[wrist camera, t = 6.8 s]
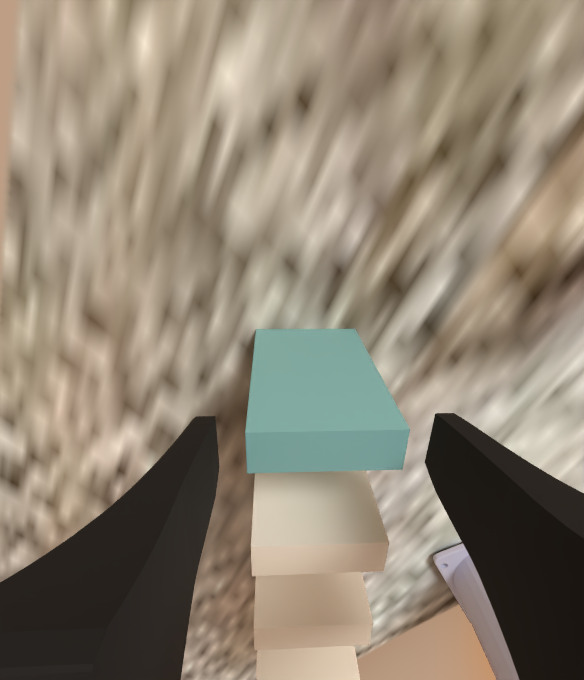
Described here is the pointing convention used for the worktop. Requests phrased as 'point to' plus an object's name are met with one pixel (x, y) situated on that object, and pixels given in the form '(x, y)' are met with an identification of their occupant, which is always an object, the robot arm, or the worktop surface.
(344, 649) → the domino
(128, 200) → the worktop surface
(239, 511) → the worktop surface
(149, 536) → the robot arm
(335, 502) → the domino
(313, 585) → the domino
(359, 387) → the end tile
